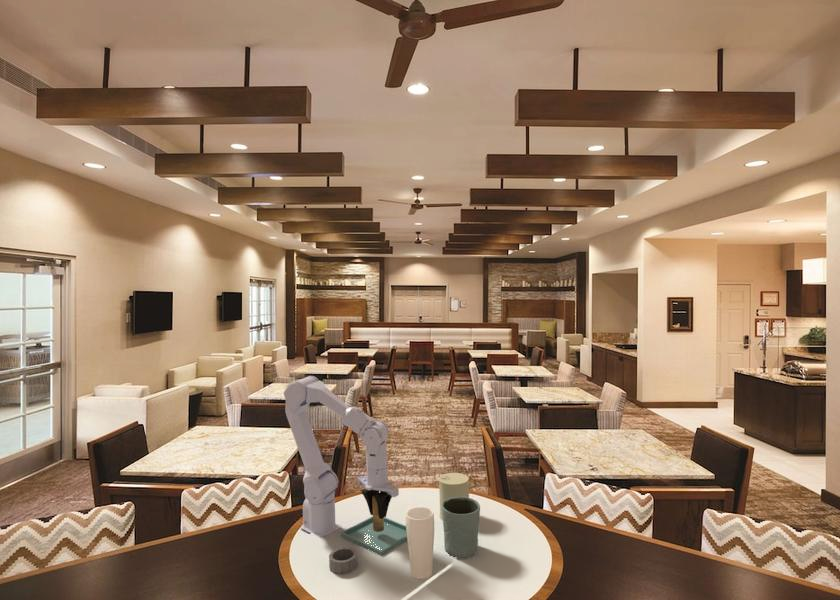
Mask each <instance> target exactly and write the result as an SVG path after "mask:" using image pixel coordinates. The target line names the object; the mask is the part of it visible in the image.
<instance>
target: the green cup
mask: <svg viewBox="0 0 840 600" xmlns="http://www.w3.org/2000/svg"><path fill="white" fill-rule="evenodd" d="M480 515H481V505H480V503H479V502H478V501H477V500H476V499H473V498H471V497H469V498H467V497H453V498H449V499H447V500H445V501H444V502H443V503H442V516H443V520H442V525H443V526H442V527H443V535H444V536H443V537H444V538H443V539H444V541H443V542H444V551H445V553H446V552H447V553H448V554H449V555H448V554H447V553H446V554H447V555H448V556H449V557H451V556H453V557H452V558H454V557H457V558H456V559H468V557H469V558H472V557H474V556H475V555H476V554H477V553H478V548H479V547H478V546H479V545H478V544H479V538H478V537H479V526H480V518H481V517H480Z"/></svg>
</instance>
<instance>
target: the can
mask: <svg viewBox="0 0 840 600" xmlns="http://www.w3.org/2000/svg"><path fill="white" fill-rule="evenodd" d="M469 481H470V477H469V476H468V475H466V474H465V473H459V472H446V473H443V474H441V475H439V477H438V489H439V492H438V493H439V515H438V516H439V518H440V520H441V521H443V516H442V503H443V502H444V501H445V500H447V499H449V498H453V497H467V498H470V485H469V484H470V482H469Z"/></svg>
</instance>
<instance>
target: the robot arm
mask: <svg viewBox="0 0 840 600" xmlns="http://www.w3.org/2000/svg"><path fill="white" fill-rule="evenodd" d="M283 396H284V399H285V405H284V407H285V408H284V410H285V411H284V412H285V416H286V419H287V422H288V424H289V427H290V430H291V432H292V436H293V439H294V440H295V441H294V442H295V445H296V447H297V450H298V452H299V455H300V457H301V461H302V464H303V467H304V469H305V473H304V474H303V479H302V482H303V486H304V488H303V492H304V493H303V494H304V497H305V499H304V501H303V504H302V526H301V527H300V530H303V531H304V532H306V533H309V534H313V535H314V536H316V537H319V538H322V537H325V536H327V535H328V534H330V533H332V532H334V531H336V530H338V529H340V528H343V527H342V525H340V524H338V523H337V522H336V504H335V503H336V497H335V494H336V492H335V491H336V489H337V488H338V487H339V479H338V476H337V474H336V473H335V472H334V471H333V470H332V467H331V465H330V464H328V463H327V462H324V458H323V456H322V452H321V451H320V448H319V445H318V442H317V439H316V436H315V434H314V431H313V429H312V426H311V422H310V420H309V417H308V416H309V415H308V413H307V410H308V407H309V406H310V404H311V403H320V404H322V405H323V406H324V407H326V408H328V409H329V410H330V411H332V412H334V413H336V415H338V416H340V417H341V419H342V423H343V425H345V426H346V427H347V428H349V429H350V430H351V431H353V433H355V434H357V435H358V436H360V437H361V440H362V441H361V442H362V443H363V445H364V446H365V457H366V458H365V460H366V461H365V463H366V464H365V465H366V476H365V475H361V476H359V477H358V476H357V478H356V479H357V485H359V486H362V485H363V486H364V488H363V489H361V495H362V496H363V498H364V499H365V501H366V504H367V507H368V511H369V513H370V514H369V515H371V516H373V508H372V497H373V496H374V497H375V499H376V502H377V505H378V514H379V518H380V519H382V518H384V517H385V518H387V513H388V509H389V505H390V503H391V500H392V498H396V497H398V496H399V492H400V491H399V487H397V486H395V485H394V484H392V483H391V481H388V454H387V453H388V452H387V451H388V450H387V441H386V440H387V439H388V437H389V436H390V430H389V427H388V425H387V424H386V423H385V422H384V421H382V420H376V419H375V418H374V417H373V418H372V417H370V416H369V415H368V414H367V413H366V412H364V411H363V410H364V409H363V408H362V407H357V406H349V405H348V404H346V403H345V402H344V401H343V400H342V399H340V398H339V397H338V396H337V395H336V394H334V392H332V391H331V390H330V389H328V388H327V386H326V384H325V383H324V382H323V381H322V380H319V379H318V378H317V377H316V376H314V375H308V376H306V377H304V378H301V379H297V380H294V381H290V383H288V384H287V386H286V388H285V390H284V392H283Z"/></svg>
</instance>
